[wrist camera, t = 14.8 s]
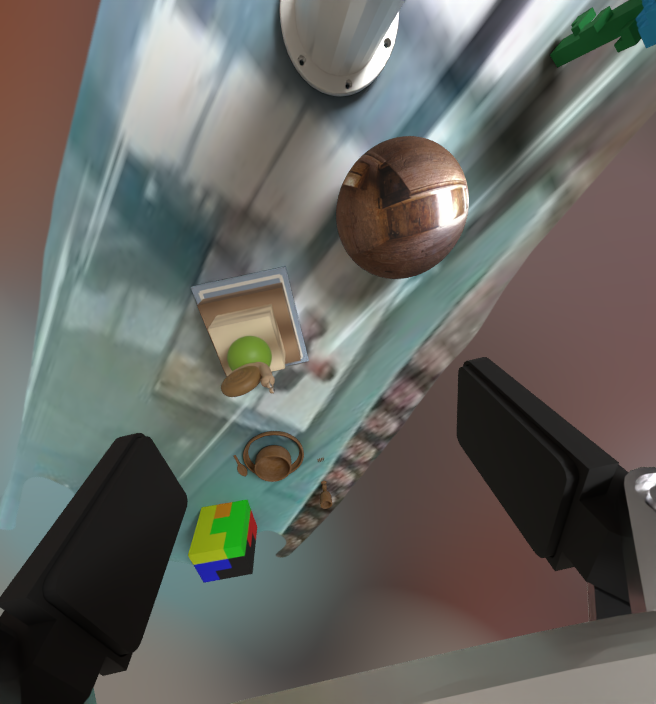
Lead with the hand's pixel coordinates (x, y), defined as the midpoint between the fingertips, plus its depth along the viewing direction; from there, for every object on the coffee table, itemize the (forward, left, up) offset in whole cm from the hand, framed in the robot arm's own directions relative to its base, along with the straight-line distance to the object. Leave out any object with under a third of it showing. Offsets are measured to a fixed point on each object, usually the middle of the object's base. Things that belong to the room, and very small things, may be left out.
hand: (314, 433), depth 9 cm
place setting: (+42, -13, -39) cm, 58 cm away
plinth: (+10, -9, -38) cm, 40 cm away
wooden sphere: (-2, +13, -38) cm, 41 cm away
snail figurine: (+10, -8, -30) cm, 32 cm away
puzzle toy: (+54, -28, -39) cm, 72 cm away
